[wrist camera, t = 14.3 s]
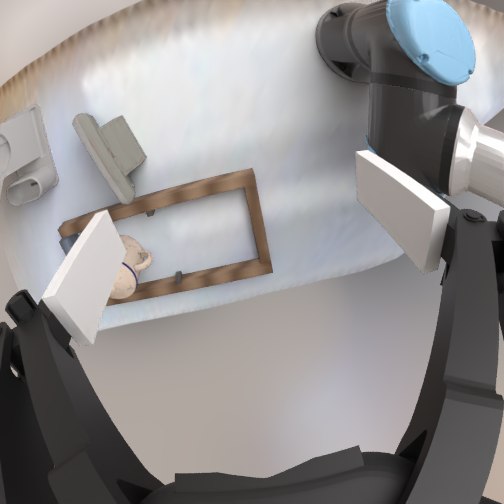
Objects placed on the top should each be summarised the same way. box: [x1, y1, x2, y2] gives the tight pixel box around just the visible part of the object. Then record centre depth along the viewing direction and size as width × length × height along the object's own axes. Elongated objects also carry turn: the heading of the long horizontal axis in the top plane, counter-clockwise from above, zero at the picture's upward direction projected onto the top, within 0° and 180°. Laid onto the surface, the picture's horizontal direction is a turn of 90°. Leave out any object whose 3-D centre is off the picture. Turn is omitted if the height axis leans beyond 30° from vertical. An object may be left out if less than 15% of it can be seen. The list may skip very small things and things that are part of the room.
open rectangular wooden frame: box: [58, 168, 273, 306], centre depth 53 cm, size 39×21×4 cm, turn 101°
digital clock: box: [72, 113, 146, 204], centre depth 38 cm, size 16×9×11 cm, turn 12°
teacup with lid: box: [109, 236, 153, 299], centre depth 50 cm, size 12×9×12 cm
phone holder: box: [0, 104, 59, 207], centre depth 32 cm, size 17×10×18 cm, turn 6°
